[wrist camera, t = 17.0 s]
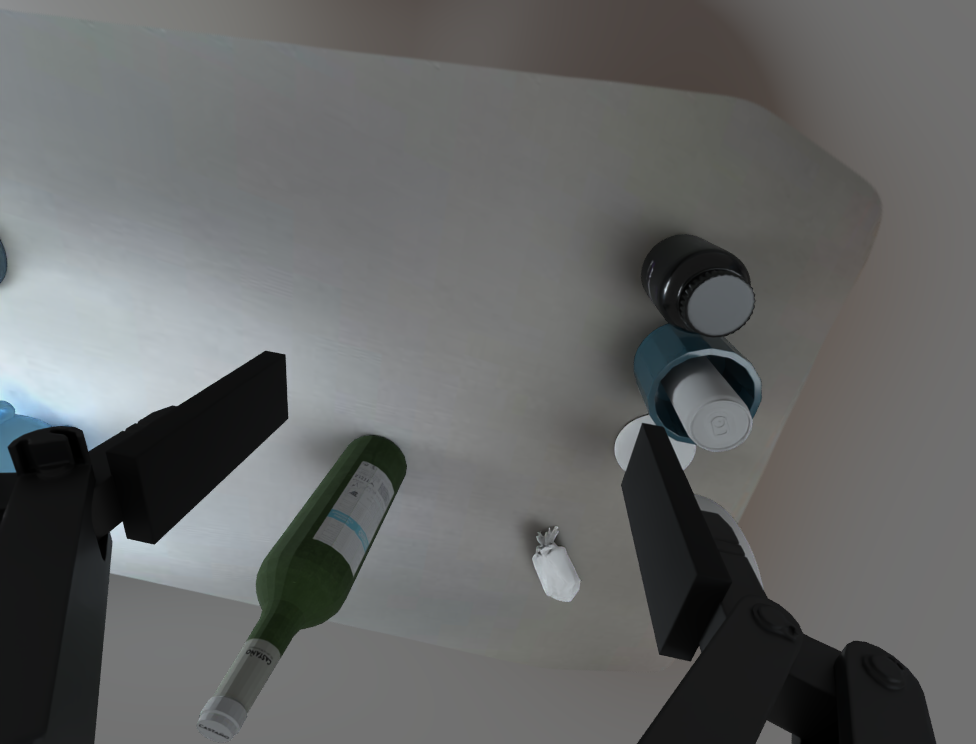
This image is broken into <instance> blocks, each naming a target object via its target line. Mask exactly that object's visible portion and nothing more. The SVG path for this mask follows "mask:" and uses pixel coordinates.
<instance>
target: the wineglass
mask: <svg viewBox="0 0 976 744" xmlns="http://www.w3.org/2000/svg"><path fill="white" fill-rule="evenodd" d="M642 423H647V424H652V425H655V423H654V422H653V420H652V419H651V417H650V415H647V416H643V417H640V418H638V419H636V420H634V421H632V422H630V423H629V424H628V425H627V426H625V427H624V428H623V429H622V431H621V432H620V433H619V435H618V437H617V439H616V442H615V457H616V460H617V462H618V464H619V465H620V466H621V468H622V469H623V470H624V471H625V472H626V469H627V466H628V463H629V460H630V457H631V454H632V451H633V448H634V445H635V442H636V439H637V436H638V433H639V430H640V427H641V425H642ZM668 437H669V436H668ZM669 439H670V442H671V444H672V446H673V448H674V451H675V453H676V455H677V457H678V460H679V462H680V464H681V467H682V469H683V470H684V469H685V468H686V467H687V466H688V465H689V464H690V463H691V461H692V459H693V457H694V455H695V452H696V445H694V444H689V443H683V442H678V441H675V440H674V439H672V438H671V437H669ZM694 496H695V498H696V500H697V503H698V505H699V507H700V509H701V510H703V511H708V512H713V513H718V514H719V515H720V516H721V517H722V518H723V519H724V520H725V521H726V522H727V523H728V524H729V525H730V526H731V527H732V529H733V531H734V533H735V535H736V537H737V539H738V541H739V545H741V547H742V549H743V551H744V553H745V557H747V558H748V560H749V562H750V564H751V566H752V568H753V570H754V572H755V574H756V576H757V578H758V580H759V582H760V584H761V586H762V588H763V584H762V580H761V576H760V572H759V569H758V566H757V563H756V560H755V557H754V555H753V552H752V550H751V547H750V545H749V543H748V541H747V539H746V538H745V536H744V534H743V532H742V530H741V529H740V527H739V526H738V524H737V523H736V521H735V520H734V519H733V517H732V516H731V515H730V514H729V513H728V512H727V511H726V510H725V509H724V508H723V507H722V506H720V505H719V504H717V503H716V502H714V501H713V500H711V499H708V498H706V497H704V496H701V495H697V494H694ZM763 590H764V588H763Z"/></svg>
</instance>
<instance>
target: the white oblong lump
mask: <svg viewBox="0 0 976 744" xmlns="http://www.w3.org/2000/svg"><path fill="white" fill-rule="evenodd" d="M557 529H558V526H554V529H553V531H552V532H551V531H550V528H549V531H548V532H546V533H545V535H544V536H542V534H541V531H540V532H537V533H538V536H536V538H537V540H538V542H539V543H540V545H539V546H537V547H536V554H535V555H534V556H533V558H532V560H533V564H534V566H535V570H536V572H537V574H538V577H539V579H540V581H541V584H542V586H543V588H544V591H545V593H546V594H547V596H550V595H551V597H552V598H554V599H556V600H560V601H563V602H565V601H566V602H570V601H572V599H573V598H574V597H575V595H576V593H577V592H578V591H579V588H580V582H581V581H582V580H580V579H579V576H578V575H577V573H576V569H575V567H574V566H573V564H572V562H571V560H570V558H569V556H568V554H567V551H566V548H565V547H562V546H557V545H556V543H554V540H555V538H556V536H557V534H558V532H559V530H557Z"/></svg>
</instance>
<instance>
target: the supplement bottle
mask: <svg viewBox="0 0 976 744" xmlns="http://www.w3.org/2000/svg"><path fill="white" fill-rule="evenodd" d="M641 281H642V285H643V288H644V290H645V292H646V293H647V295H648V297H649V298H650V299H651V301H652V302H653V304H654V305H655V306H656V308H657V309H658V310H659V312H660V313H661V315H662V316H663V317H664V318H665V320H666V321H667V322H668V323H669V324H670V325H672V326H673V327H674V328H676V329H678V330H680V331H683V332H686V333H690V334H699V335H702V336H705V337H712V338H715V337H722V336H728V335H729V334H732V333H734V332H735V331H737V330H739V329H740V328H741V327H742V326H744V325H745V324H746V322H747V321H748V320H749V319H750V316H751V315H752V314H753V309H754V307H755V305H754V303H755V299H754V297H755V294H754V292H753V288H752V287H751V281H750V276H749V273H748V271H747V269H746V267H745V265H744V264H743V263H742V261H741V260H740V259H738V258H737V257H736V256H735V255H733V254H732V253H730V252H728V251H726V250H724V249H722V248H720V247H718V246H716V245H714V244H712V243H710V242H708V241H706V240H704V239H702V238H700V237H697V236H694V235H687V234H682V235H675V236H671V237H669V238H666V239H664V240H662V241H661V242H659V243H658V244H657V245H656V246H654V247H653V248H652V250H651V251H650V252H649V253H648V255H647V256H646V258H645V260H644V263H643V266H642V270H641Z"/></svg>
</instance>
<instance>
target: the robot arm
mask: <svg viewBox="0 0 976 744" xmlns="http://www.w3.org/2000/svg"><path fill="white" fill-rule="evenodd" d="M287 419H288V402H287V379H286V356H285V354H280V353H275V352H269V351H264V352H263V353H261V354H260V355H258V356H256V357H255V358H253V359H252V360H250V361H248V362H247V363H245V364H244V365H242V366H241V367H239V368H237V369H236V370H234V371H233V372H231V373H229V374H228V375H226V376H225V377H223V378H221V379H220V380H218V381H217V382H215V383H214V384H212V385H210V386H209V387H207V388H206V389H204V390H202V391H201V392H199V393H198V394H196V395H194V396H193V397H191V398H190V399H188V400H187V401H185V402H183V403H182V404H180V405H179V406H170V407H167V408H164V409H161V410H158V411H156V412H153V413H151V414H150V415H148V416H146V417H145V418H143V419H141V420H140V421H138V423H137V424H136V423H135V424H133V425H131V426H130V427H128V428H126V430H125V431H122V432H120V433H118V434H117V435H115V436H113V437H112V438H110V439H108V440H107V441H105V442H103V443H102V444H100V445H98V446H97V447H95V448H93V449H92V450H90V451H89V452H88V449H87V445H86V441H85V438H84V434H83V431H82V430H80V429H78V428H76V427H69V426H56V427H48V428H43V429H38V430H35V431H32V432H29V433H27V434H24V435H22V436H20V437H18V438H17V439H15V440H13V441H12V442H11V443H10V445H9V446H8V447H7V448H8V451H9V453H10V456H11V459H12V462H13V465H14V467H15V470H16V472H9V473H0V744H94V740H95V729H96V718H97V707H98V696H99V685H100V673H101V663H102V651H103V640H104V630H105V619H106V607H107V596H108V584H109V574H110V563H111V552H112V538H111V535H110V531H111V530H112V529H114V528H115V527H116V526H117V525H119V524H120V523H121V522H122V521H123V525H124V529H125V533H126V537H127V539H131V540H136V541H141V542H145V543H150V544H154V545H155V544H156V543H157V542H158V541H159V540H160V539H161V538H162V537H163V536H164V535H165V534H166V533H167V532H168V531H169V530H171V529H172V528H173V527H174V526H175V525H176V524H177V523H178V522H179V521H180V520H181V519H182V518H183V517H184V516H185V515H186V514H188V513H189V512H190V511H191V510H192V509H193V508H194V507H195V506H196V505H197V504H198V503H199V502H200V501H201V500H202V499H203V498H204V497H206V496H207V495H208V494H209V493H210V492H211V491H212V490H213V489H214V488H215V487H216V486H217V485H218V484H219V483H220V482H221V481H223V480H224V479H225V478H226V477H227V476H228V475H229V474H230V473H231V472H232V471H233V470H234V469H235V468H236V467H237V466H238V465H240V464H241V463H242V462H243V461H244V460H245V459H246V458H247V457H248V456H249V455H250V454H251V453H252V452H253V451H254V450H255V449H256V448H258V447H259V446H260V445H261V444H262V443H263V442H264V441H265V440H266V439H267V438H268V437H269V436H270V435H271V434H272V433H273V432H275V431H276V430H277V429H278V428H279V427H280V426H281V425H282V424H283V423H284V422H285V421H286V420H287ZM621 486H622V491H623V495H624V500H625V504H626V509H627V513H628V518H629V522H630V527H631V531H632V535H633V540H634V544H635V549H636V553H637V558H638V562H639V567H640V571H641V576H642V580H643V584H644V589H645V593H646V598H647V602H648V607H649V611H650V616H651V620H652V625H653V629H654V633H655V638H656V642H657V647H658V651H659V655H663V656H668V657H673V658H677V659H682V660H687V661H691V660H692V658H693V656H694V654H695V652H696V650H697V648H698V647H699V646H700V649H701V654H700V656H699V657H698V659H697V660H696V661H695V663H694V664H693V666H692V667H691V668H690V670H689V671H688V673H687V674H686V675H685V677H684V678H683V680H682V681H681V682H680V684H679V685H678V687H677V688H676V690H675V691H674V693H673V694H672V695H671V697H670V698H669V699H668V701H667V702H666V704H665V705H664V706H663V708H662V709H661V711H660V712H659V714H658V715H657V716H656V718H655V719H654V721H653V722H652V723H651V725H650V726H649V728H648V729H647V730H646V732H645V734H644V735H643V736H642V737H641V739H640V740H639V742H638V743H637V744H756V741H757V739H758V737H759V735H760V733H761V731H762V729H763V727H764V724H765V722H766V720H768V721H769V722H771V723H773V724H775V725H777V726H779V727H781V728H783V729H784V730H786V731H788V732H790V733H792V744H936V741H935V737H934V732H933V728H932V724H931V720H930V717H929V713H928V708H927V704H926V700H925V696H924V693H923V690H922V688H921V686H920V684H919V682H918V680H917V679H916V678H915V677H914V676H913V674H912V673H911V672H910V671H909V669H908V668H906V667H905V666H904V665H903V664H902V663H901V662H900V661H899V660H897V659H896V658H895V657H894V656H892V655H891V654H889V653H887V652H886V651H884V650H883V649H881V648H879V647H877V646H874V645H872V644H869V643H867V642H862V641H853V642H851V643H849V644H847V645H846V647H845V648H844V649H843V650H842V652H841V651H838V650H837V649H835V648H832V647H830V646H828V645H826V644H824V643H822V642H819V641H817V640H815V639H813V638H811V637H809V636H807V635H805V634H803V632H802V630H801V628H800V626H799V624H798V622H797V621H796V620H795V619H794V618H793V616H792V615H791V614H790V613H789V612H788V611H786V610H785V609H784V608H783V607H782V606H780V605H779V604H777V603H775V602H773V601H772V600H770V599H768V598H767V596H766V594H765V592H764V590H763V588H762V586H761V584H760V582H759V580H758V578H757V576H756V574H755V572H754V570H753V568H752V566H751V564H750V562H749V560H748V558H747V557H745V553H744V551H743V549H742V547H741V545H739V541H738V539H737V537H736V535H735V533H734V531H733V529H732V527H731V526H730V525H729V524H728V523H727V522H726V521H725V520H724V519H723V518H722V517H721V516H720V515H719V514H718V513H713V512H708V511H703V510H701V509H700V507H699V505H698V503H697V500H696V498H695V496H694V494H693V491H692V489H691V487H690V485H689V482H688V480H687V478H686V476H685V473H684V471H683V469H682V467H681V464H680V462H679V460H678V457H677V455H676V453H675V451H674V448H673V446H672V444H671V442H670V439H669V437H668V435H667V433H666V430H665V428H664V427H662V426H657V425H652V424H647V423H642V425H641V427H640V430H639V433H638V436H637V439H636V442H635V445H634V448H633V451H632V454H631V457H630V460H629V463H628V466H627V469H626V472H625V475H624V478H623V481H622V484H621Z"/></svg>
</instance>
